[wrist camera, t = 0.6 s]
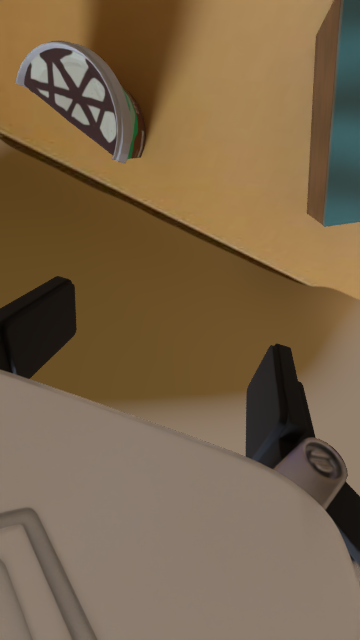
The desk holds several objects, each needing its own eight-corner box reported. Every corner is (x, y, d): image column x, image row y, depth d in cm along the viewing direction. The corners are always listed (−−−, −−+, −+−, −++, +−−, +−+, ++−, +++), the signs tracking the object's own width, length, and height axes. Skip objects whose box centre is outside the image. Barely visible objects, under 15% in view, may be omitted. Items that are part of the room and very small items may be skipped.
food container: (173, 115, 31) (145, 96, 22) (149, 164, 34) (117, 163, 26) (88, 43, 29) (23, -7, 21) (71, 102, 32) (10, 79, 24)
